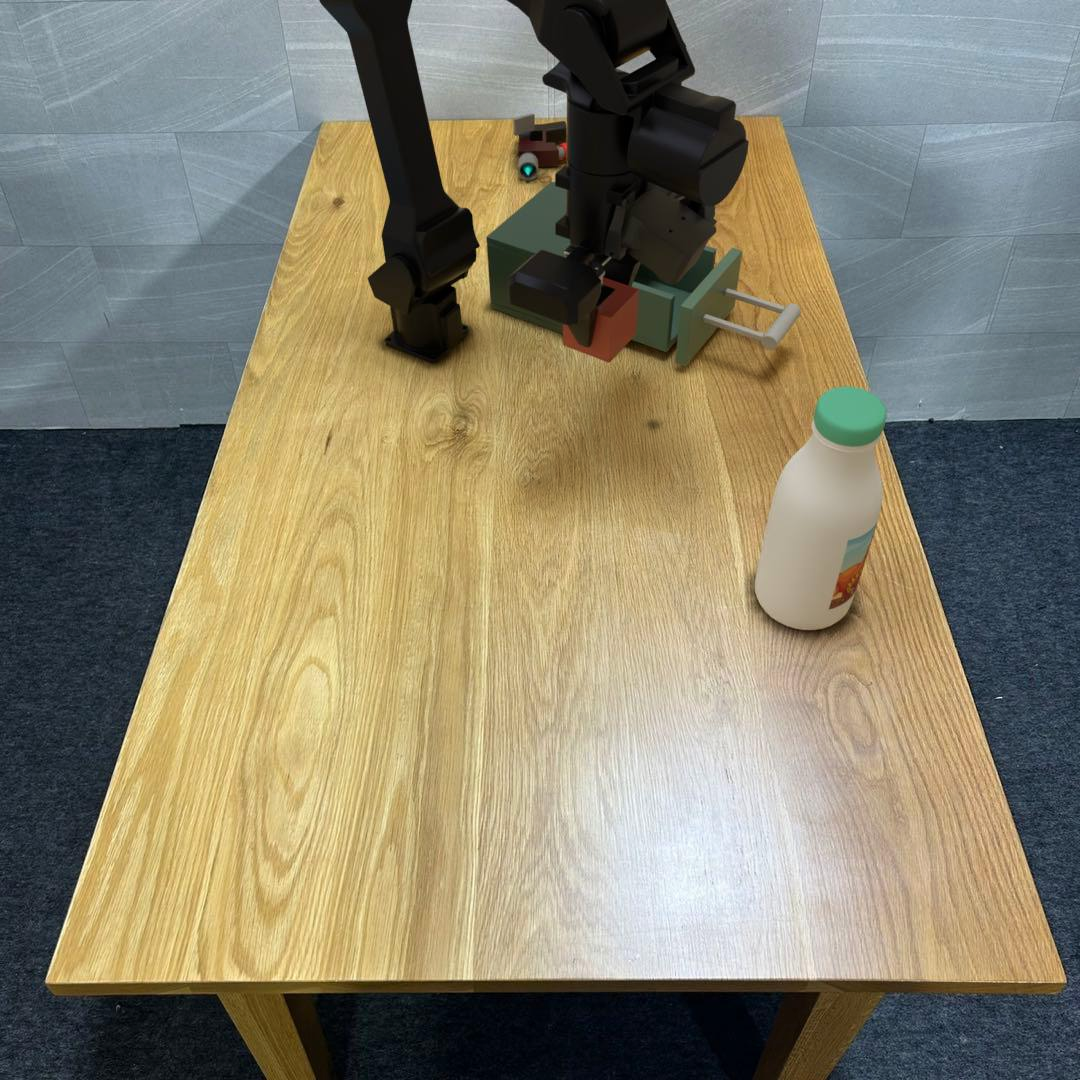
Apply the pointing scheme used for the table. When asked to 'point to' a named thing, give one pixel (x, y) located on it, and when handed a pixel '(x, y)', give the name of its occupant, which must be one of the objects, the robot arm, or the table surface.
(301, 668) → the table surface
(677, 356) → the drawer
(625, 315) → the block
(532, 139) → the toy gun
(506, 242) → the cabinet
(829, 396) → the milk bottle
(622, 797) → the table surface
